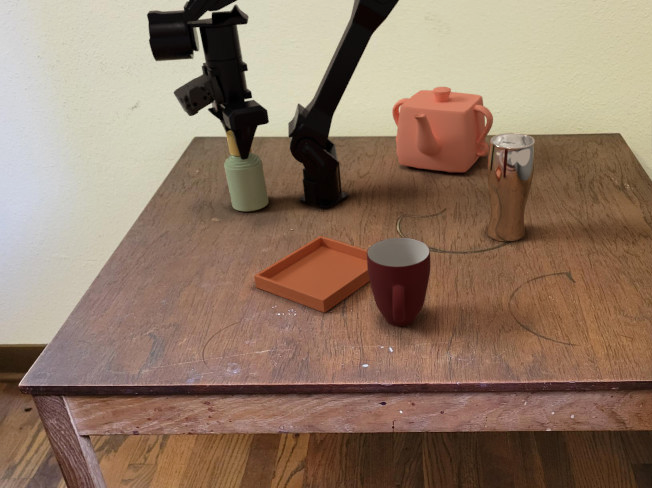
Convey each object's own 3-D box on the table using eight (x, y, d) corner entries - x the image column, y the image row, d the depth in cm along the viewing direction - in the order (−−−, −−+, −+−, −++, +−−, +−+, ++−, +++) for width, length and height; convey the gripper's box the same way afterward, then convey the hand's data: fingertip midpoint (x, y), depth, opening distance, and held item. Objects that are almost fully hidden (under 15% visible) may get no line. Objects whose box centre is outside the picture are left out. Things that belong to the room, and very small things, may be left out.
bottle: (250, 193, 130) (237, 127, 122) (276, 200, 127) (264, 132, 119) (224, 206, 126) (210, 138, 118) (250, 214, 123) (237, 144, 115)
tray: (321, 247, 113) (320, 235, 112) (388, 268, 107) (387, 256, 106) (256, 287, 104) (253, 275, 103) (324, 313, 98) (323, 300, 97)
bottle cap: (227, 150, 121) (223, 131, 119) (247, 146, 122) (244, 126, 120) (233, 157, 119) (229, 137, 117) (254, 152, 120) (251, 133, 118)
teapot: (368, 179, 134) (363, 103, 125) (407, 145, 148) (405, 74, 139) (469, 193, 128) (471, 114, 119) (500, 156, 142) (504, 82, 133)
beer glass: (533, 228, 116) (541, 135, 107) (520, 246, 111) (528, 151, 102) (492, 221, 119) (497, 130, 109) (478, 238, 114) (482, 145, 104)
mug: (437, 343, 91) (437, 274, 85) (375, 348, 91) (370, 279, 85) (425, 300, 100) (425, 235, 93) (368, 305, 99) (364, 239, 93)
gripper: (158, 52, 115) (180, 148, 125) (187, 78, 102) (210, 184, 112) (225, 42, 119) (241, 136, 128) (261, 66, 106) (277, 169, 115)
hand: (241, 155), depth 121 cm, fingers closed on bottle cap, 3 cm apart
